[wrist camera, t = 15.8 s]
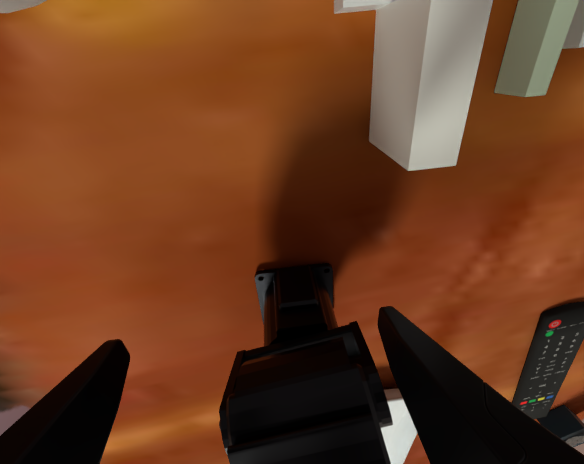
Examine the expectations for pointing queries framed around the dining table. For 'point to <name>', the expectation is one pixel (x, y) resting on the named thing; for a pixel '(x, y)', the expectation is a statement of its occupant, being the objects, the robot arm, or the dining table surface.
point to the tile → (576, 29)
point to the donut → (17, 5)
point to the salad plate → (398, 428)
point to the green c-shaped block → (534, 46)
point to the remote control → (549, 358)
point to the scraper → (422, 75)
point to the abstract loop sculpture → (564, 425)
